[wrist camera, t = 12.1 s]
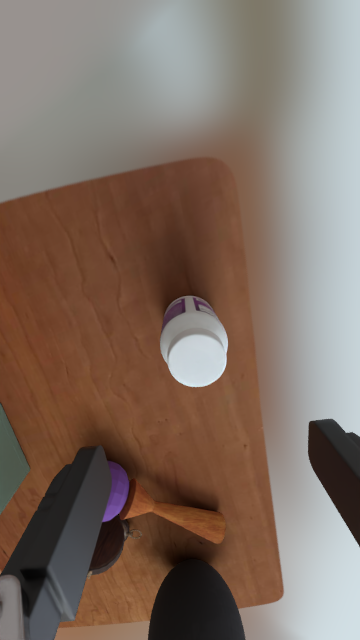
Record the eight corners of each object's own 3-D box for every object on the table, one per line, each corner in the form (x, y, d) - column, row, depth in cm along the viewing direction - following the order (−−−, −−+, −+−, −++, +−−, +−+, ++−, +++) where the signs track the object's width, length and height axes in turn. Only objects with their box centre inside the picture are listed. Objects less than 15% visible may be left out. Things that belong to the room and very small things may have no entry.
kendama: (206, 564, 30) (59, 523, 26) (204, 509, 36) (81, 467, 31) (235, 550, 28) (78, 501, 23) (228, 493, 33) (98, 445, 28)
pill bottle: (169, 346, 25) (165, 402, 16) (159, 300, 24) (147, 332, 15) (218, 337, 25) (241, 389, 16) (210, 290, 24) (231, 317, 14)
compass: (88, 538, 35) (65, 611, 28) (87, 500, 32) (61, 570, 25) (141, 541, 35) (132, 614, 28) (144, 504, 33) (134, 573, 26)
